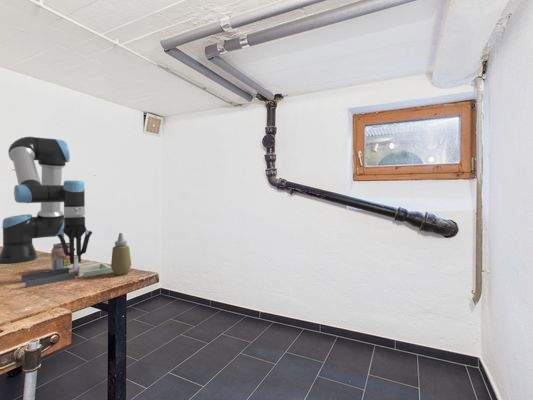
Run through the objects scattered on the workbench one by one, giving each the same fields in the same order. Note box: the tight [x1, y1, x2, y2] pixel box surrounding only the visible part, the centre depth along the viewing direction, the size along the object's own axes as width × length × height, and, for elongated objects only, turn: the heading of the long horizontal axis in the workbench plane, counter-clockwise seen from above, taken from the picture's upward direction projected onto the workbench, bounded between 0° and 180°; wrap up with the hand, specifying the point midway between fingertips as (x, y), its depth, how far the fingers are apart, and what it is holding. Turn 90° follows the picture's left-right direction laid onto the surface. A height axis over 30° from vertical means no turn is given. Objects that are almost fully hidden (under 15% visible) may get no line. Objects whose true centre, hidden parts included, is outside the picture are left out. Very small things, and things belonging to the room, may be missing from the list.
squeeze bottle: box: [110, 232, 132, 276], centre depth 127 cm, size 8×8×18 cm
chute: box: [20, 268, 76, 288], centre depth 118 cm, size 11×16×2 cm
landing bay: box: [82, 262, 113, 278], centre depth 130 cm, size 12×11×2 cm
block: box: [75, 261, 101, 277], centre depth 129 cm, size 6×8×4 cm
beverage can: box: [50, 242, 76, 271], centre depth 134 cm, size 9×8×12 cm
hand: (75, 270), depth 125 cm, fingers closed
